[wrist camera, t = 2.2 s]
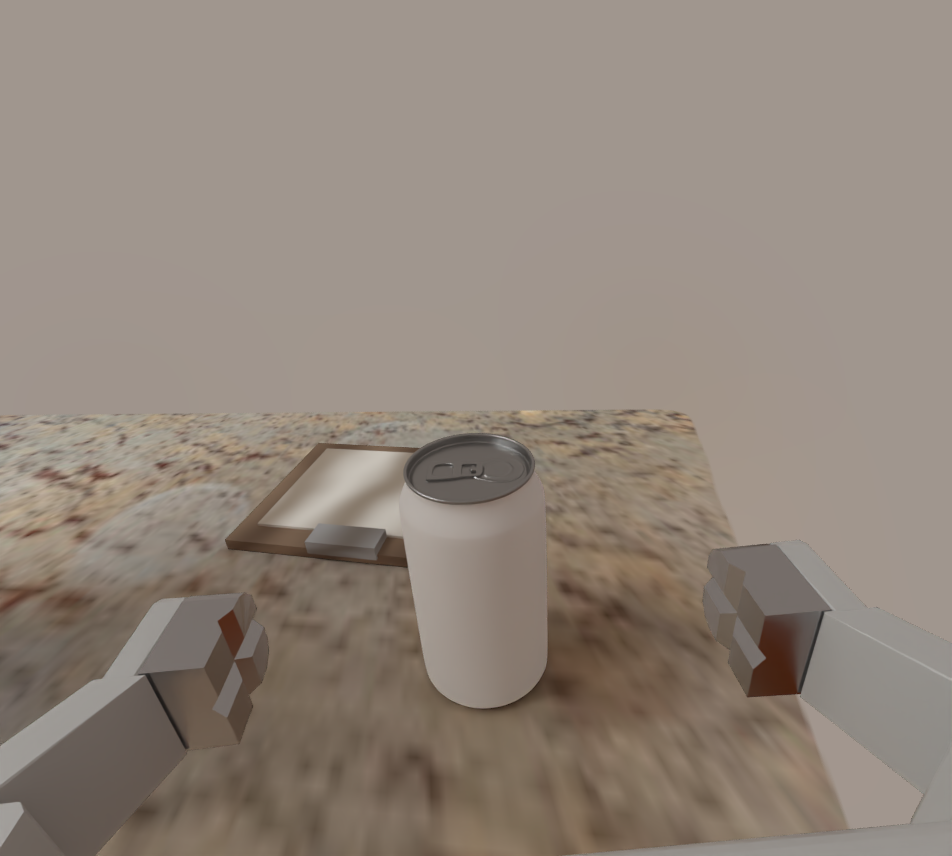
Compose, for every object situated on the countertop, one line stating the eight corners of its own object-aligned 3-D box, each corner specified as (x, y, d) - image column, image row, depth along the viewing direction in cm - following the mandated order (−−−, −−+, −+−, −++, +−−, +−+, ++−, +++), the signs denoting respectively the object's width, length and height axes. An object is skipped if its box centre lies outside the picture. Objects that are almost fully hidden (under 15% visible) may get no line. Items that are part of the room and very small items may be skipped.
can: (552, 714, 25) (550, 506, 19) (416, 714, 25) (378, 511, 20) (543, 609, 31) (540, 425, 25) (433, 611, 31) (406, 431, 26)
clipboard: (226, 550, 38) (220, 533, 37) (320, 450, 50) (317, 436, 49) (473, 576, 34) (471, 557, 33) (509, 460, 46) (509, 445, 45)
